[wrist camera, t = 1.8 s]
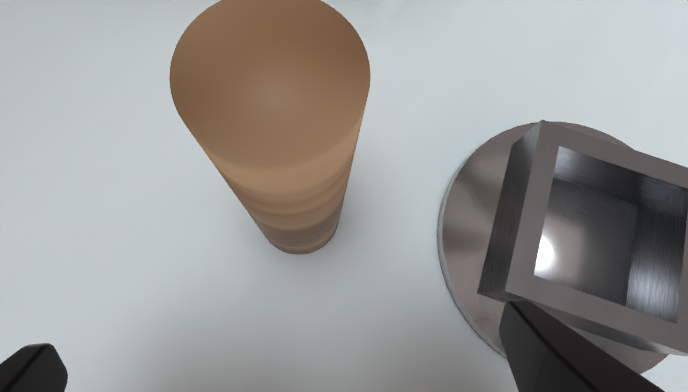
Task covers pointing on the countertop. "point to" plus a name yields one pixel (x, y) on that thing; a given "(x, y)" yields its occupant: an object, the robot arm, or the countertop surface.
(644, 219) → the square socket on disc
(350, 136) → the pin
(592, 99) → the countertop surface
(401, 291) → the countertop surface
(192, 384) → the countertop surface
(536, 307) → the robot arm
